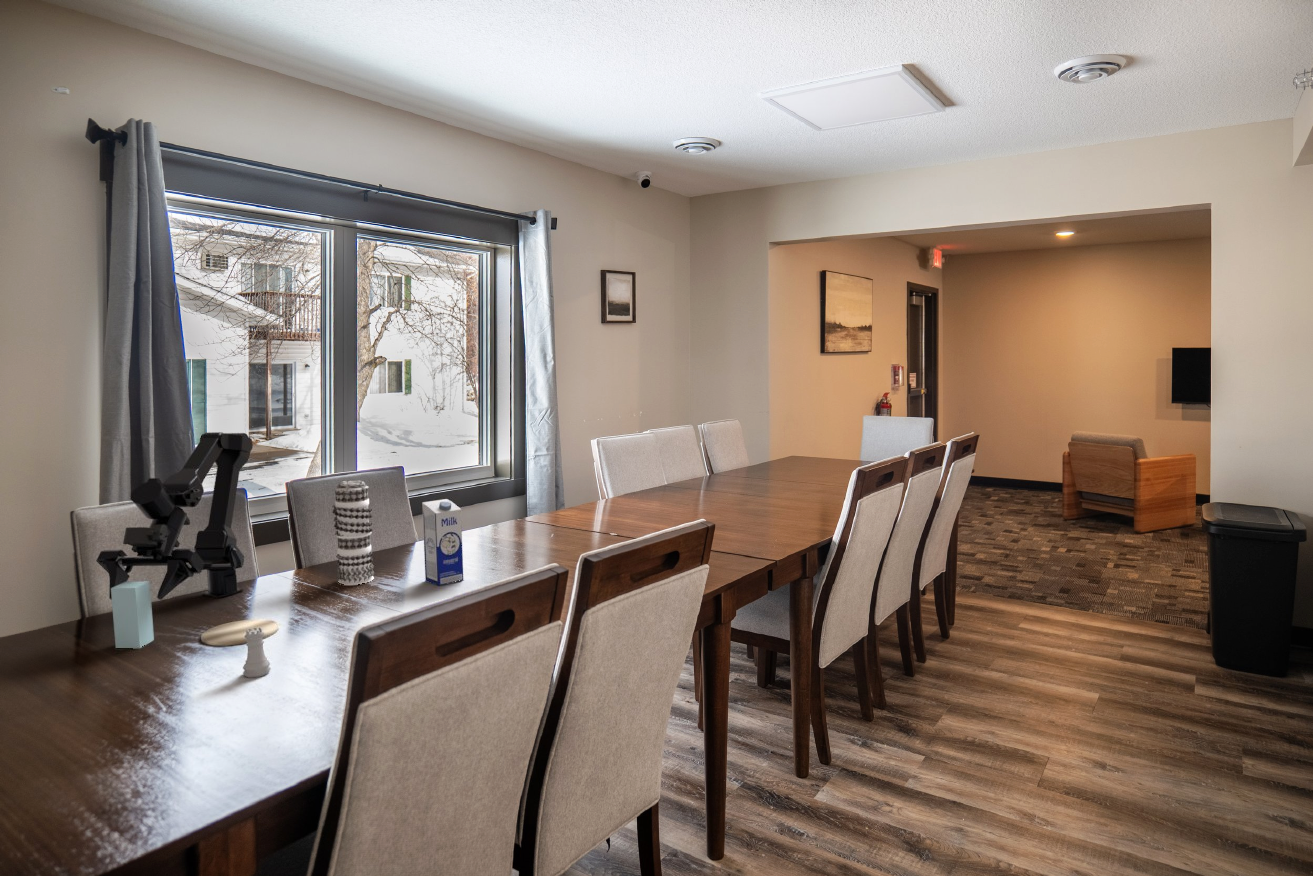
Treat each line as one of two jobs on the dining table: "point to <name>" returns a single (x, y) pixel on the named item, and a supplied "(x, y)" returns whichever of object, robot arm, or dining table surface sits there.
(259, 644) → the rook chess piece
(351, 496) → the patterned cylinder tower
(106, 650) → the dining table surface
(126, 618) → the teal post
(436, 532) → the milk carton
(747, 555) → the dining table surface
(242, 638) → the board
